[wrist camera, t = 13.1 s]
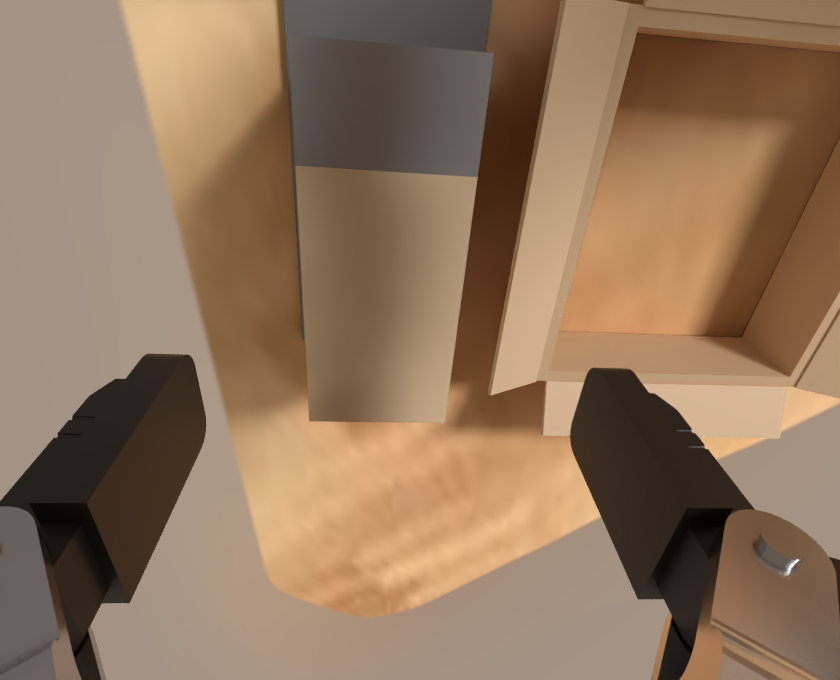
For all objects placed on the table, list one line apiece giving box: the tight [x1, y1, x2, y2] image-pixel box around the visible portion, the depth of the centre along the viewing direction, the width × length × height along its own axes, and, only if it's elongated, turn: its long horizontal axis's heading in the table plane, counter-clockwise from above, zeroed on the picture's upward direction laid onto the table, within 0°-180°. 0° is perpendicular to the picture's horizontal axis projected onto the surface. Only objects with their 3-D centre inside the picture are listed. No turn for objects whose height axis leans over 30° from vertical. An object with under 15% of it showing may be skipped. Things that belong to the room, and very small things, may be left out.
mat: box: [283, 0, 492, 339], centre depth 23 cm, size 8×16×1 cm, turn 176°
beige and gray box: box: [288, 35, 494, 423], centre depth 19 cm, size 5×12×9 cm, turn 176°
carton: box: [488, 0, 840, 438], centre depth 22 cm, size 19×21×5 cm
